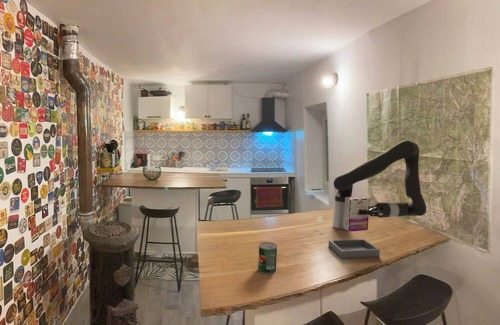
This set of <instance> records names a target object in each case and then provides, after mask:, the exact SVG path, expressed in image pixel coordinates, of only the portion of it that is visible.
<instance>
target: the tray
mask: <svg viewBox="0 0 500 325" xmlns="http://www.w3.org/2000/svg"><path fill="white" fill-rule="evenodd" d="M328 249H330V251H332V253H334V254H335V255H336V256H337V257H338V258H339V259H341V260H352V259H374V258H375V259H376V258H380V252H381V250H380V249H379V248H378V247H377V246H375V245H374V244H372V243H371V242H370V241H368V240H366V239H365V238H356V239H355V238H353V239H352V238H351V239H329V240H328Z"/></svg>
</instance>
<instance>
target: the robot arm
mask: <svg viewBox="0 0 500 325" xmlns="http://www.w3.org/2000/svg"><path fill="white" fill-rule="evenodd" d="M403 159H404V163H405V175H404V189H405V196H406V197H407V198H410V200H411V201H412V202H377V203H375V205H369V210H359V215H366V214H367V215H369V217H374V218H375V217H377V218H379V219H381V218H396V217H397V218H398V217H411V216H412V217H422V216H424V215H425V214H426V213H427V205H426V201H425V199H424V197H423V194H422V190H421V182H420V175H419V174H420V173H419V172H420V171H419V160H420V147H419V146H418V144H417V143H416V142H414V141H410V140H401V141H400V142H399V143H397V144H396V145H394V146H392V147H391V148H389V149H388V150H386V151H385V152H383V153H380V154H378V155H377V156H374V157H373V158H371V159H369V160H366V161H365V162H363V163H362V164H360V165H359V166H357V167H355V168H354V169H351V171H349V172H346V173H344V174H341V175H339V176H337V177H336V178H335V179H334V180H333V187H334V188H335V189H336V190H337V192H336V194H335V196H334V207H333V218H332V226H333V228H334V229H337V230H345V229H344V213H345V198H346V197H353V189H354V188H353V186H354V184H356V183H359V182H361V181H364V180H368V179H370V178H372V177H375V176H377V175H378V174H380V173H382V172H384V171H385V170H386V169H387V168H388V167H389V166H390V165H392V164H393V163H395V162H398V161H400V160H403Z"/></svg>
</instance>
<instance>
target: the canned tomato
mask: <svg viewBox="0 0 500 325" xmlns="http://www.w3.org/2000/svg"><path fill="white" fill-rule="evenodd" d="M277 252H278V244H276V243H274V242H269V241H268V242H267V241H264V242H261V243H259V244H258V263H257V266H258V267H257V270H258V271H259V272H260V273H261V274H266V275H270V274H274V273H276V272H277V258H278V256H277V255H278V253H277Z"/></svg>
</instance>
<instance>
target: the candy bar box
mask: <svg viewBox="0 0 500 325" xmlns="http://www.w3.org/2000/svg"><path fill="white" fill-rule="evenodd" d="M369 206H370V198H369V197H367V196H362V195H361V196H351V197H346V198H345V213H344V229H343V230H345V231H347V232H349V233H350V232H359V231H360V232H362V231H369V217H370V215H367V214H366V215H359V210H369Z"/></svg>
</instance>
